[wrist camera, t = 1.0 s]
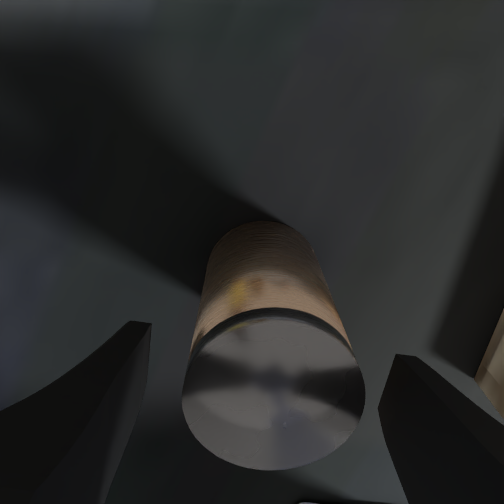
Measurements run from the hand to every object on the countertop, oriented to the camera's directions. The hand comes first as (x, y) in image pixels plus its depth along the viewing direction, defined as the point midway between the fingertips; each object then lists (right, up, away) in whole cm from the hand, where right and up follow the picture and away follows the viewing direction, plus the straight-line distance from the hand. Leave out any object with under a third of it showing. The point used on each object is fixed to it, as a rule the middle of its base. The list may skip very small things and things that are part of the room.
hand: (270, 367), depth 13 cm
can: (0, +2, +6) cm, 7 cm away
